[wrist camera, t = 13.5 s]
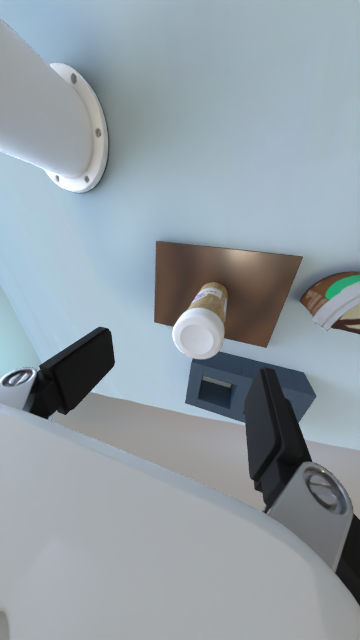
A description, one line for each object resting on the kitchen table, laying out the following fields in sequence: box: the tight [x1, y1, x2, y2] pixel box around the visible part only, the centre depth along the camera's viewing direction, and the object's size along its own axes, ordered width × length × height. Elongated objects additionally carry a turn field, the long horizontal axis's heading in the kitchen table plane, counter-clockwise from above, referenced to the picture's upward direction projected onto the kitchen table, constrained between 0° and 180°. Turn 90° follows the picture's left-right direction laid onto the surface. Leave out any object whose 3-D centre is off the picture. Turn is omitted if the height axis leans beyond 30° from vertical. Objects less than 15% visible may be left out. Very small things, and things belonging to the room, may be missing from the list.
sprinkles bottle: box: [173, 282, 228, 359], centre depth 20 cm, size 5×5×14 cm
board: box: [154, 241, 303, 348], centre depth 26 cm, size 20×14×1 cm
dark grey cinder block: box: [185, 352, 316, 423], centre depth 30 cm, size 19×10×5 cm, turn 85°
